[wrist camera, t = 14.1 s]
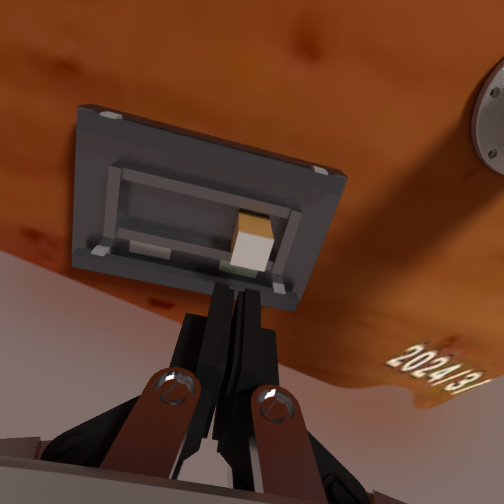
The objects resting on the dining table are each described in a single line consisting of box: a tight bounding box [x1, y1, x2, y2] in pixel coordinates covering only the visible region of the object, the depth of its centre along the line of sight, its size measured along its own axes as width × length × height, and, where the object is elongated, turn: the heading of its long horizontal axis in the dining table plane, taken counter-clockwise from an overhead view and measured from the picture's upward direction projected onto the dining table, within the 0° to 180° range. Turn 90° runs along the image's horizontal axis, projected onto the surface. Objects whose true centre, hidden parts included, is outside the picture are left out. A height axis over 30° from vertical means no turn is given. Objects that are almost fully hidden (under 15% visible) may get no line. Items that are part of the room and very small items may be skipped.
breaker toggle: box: [230, 211, 274, 272], centre depth 31 cm, size 3×3×5 cm
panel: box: [72, 104, 348, 301], centre depth 33 cm, size 24×14×5 cm, turn 75°
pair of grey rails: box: [72, 110, 345, 312], centre depth 32 cm, size 22×14×2 cm, turn 75°
